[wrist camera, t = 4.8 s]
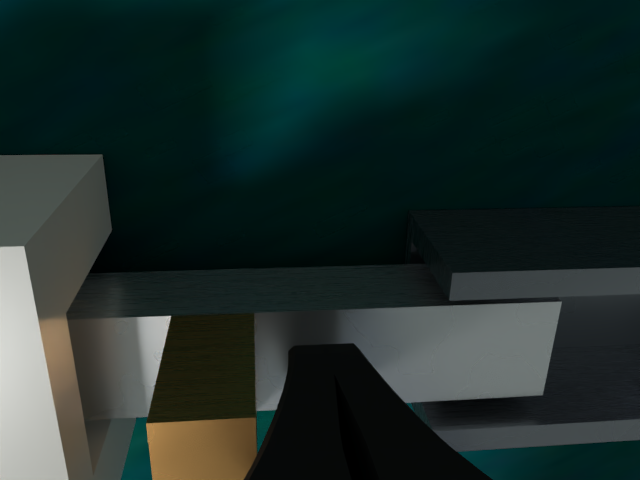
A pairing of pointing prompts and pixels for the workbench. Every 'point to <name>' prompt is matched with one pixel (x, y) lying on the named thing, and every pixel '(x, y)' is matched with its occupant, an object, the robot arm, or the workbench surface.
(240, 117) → the workbench surface
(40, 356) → the socket block
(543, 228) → the sleeve
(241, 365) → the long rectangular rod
